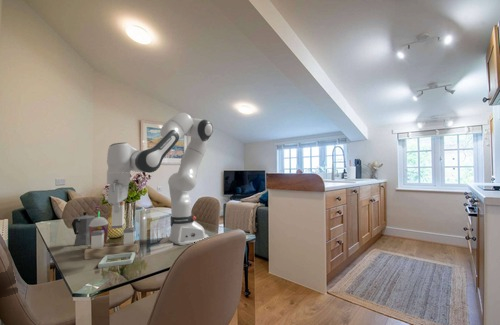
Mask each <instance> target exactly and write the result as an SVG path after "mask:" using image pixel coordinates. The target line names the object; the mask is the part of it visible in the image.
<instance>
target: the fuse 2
mask: <svg viewBox="0 0 500 325" xmlns="http://www.w3.org/2000/svg"><path fill="white" fill-rule="evenodd" d="M135 230H136V227H135V226H133V227H125V228H124V229H123V242H124V245H133V244H135V241H136V240H135V238H136V237H135Z"/></svg>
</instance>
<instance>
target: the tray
mask: <svg viewBox="0 0 500 325" xmlns="http://www.w3.org/2000/svg"><path fill="white" fill-rule="evenodd" d="M135 257H136V254H135V252H131V253H122V254H114V255H105V256H104V257H103V258H101V260H100V261H99V262H98V263H97V267H98V268H97V269H100V268H101V269H102V268H109V267H117V266H124V265H131V264H133V262H134V260H135ZM123 258H129V259H123ZM115 259H123V260H116V261H115ZM108 260H114V261H108Z"/></svg>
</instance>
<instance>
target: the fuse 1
mask: <svg viewBox="0 0 500 325" xmlns="http://www.w3.org/2000/svg"><path fill="white" fill-rule="evenodd" d="M103 247H104V230H97V231H93V232H92V233H91V249H96V248H103Z"/></svg>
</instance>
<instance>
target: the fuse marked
mask: <svg viewBox="0 0 500 325" xmlns="http://www.w3.org/2000/svg"><path fill="white" fill-rule="evenodd" d="M125 203H126V201H125V200H123V201H121V202H120V204H119V208H120V212H119V213H114V206H113V204H111V227H110V228H111V229H112V230H113V229H123V227H124V226H125V205H126V204H125Z"/></svg>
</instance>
